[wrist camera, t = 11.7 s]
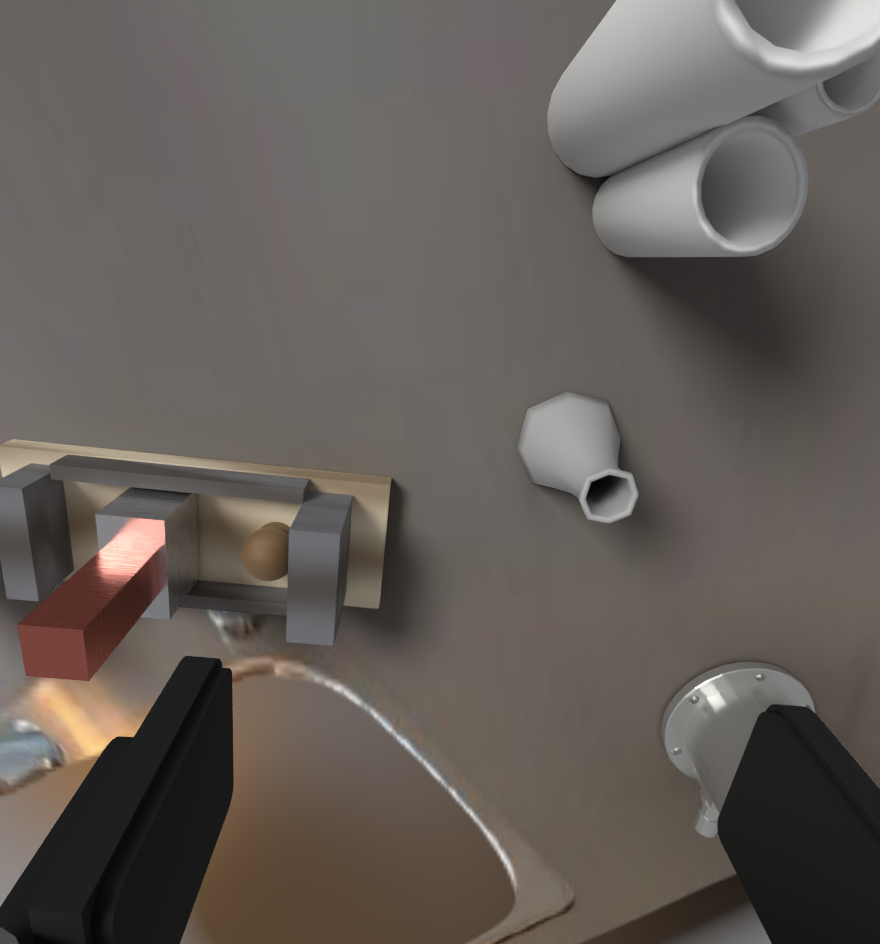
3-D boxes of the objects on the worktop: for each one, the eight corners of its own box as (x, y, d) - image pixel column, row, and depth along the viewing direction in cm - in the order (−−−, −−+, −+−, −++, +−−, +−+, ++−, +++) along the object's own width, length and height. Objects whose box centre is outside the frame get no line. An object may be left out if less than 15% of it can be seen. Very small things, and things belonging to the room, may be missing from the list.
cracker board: (380, 597, 44) (371, 662, 37) (31, 566, 43) (-47, 627, 36) (391, 477, 41) (383, 523, 34) (12, 439, 39) (-78, 478, 32)
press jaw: (199, 578, 41) (102, 713, 29) (142, 573, 41) (21, 707, 29) (196, 488, 39) (89, 594, 27) (135, 482, 38) (0, 587, 26)
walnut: (301, 564, 41) (289, 593, 38) (251, 559, 41) (234, 588, 37) (303, 519, 40) (291, 545, 36) (251, 514, 40) (233, 540, 36)
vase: (524, 99, 33) (653, -113, 14) (637, 14, 31) (944, -345, 13) (616, 272, 36) (819, 288, 17) (721, 202, 35) (1062, 138, 16)
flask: (618, 484, 41) (674, 550, 32) (518, 493, 41) (544, 562, 32) (619, 385, 39) (680, 426, 29) (513, 396, 39) (539, 440, 30)
